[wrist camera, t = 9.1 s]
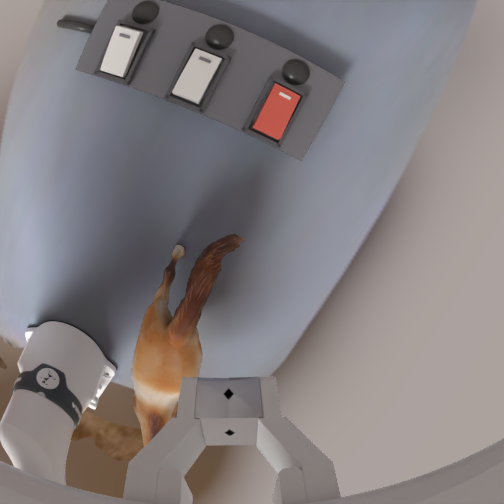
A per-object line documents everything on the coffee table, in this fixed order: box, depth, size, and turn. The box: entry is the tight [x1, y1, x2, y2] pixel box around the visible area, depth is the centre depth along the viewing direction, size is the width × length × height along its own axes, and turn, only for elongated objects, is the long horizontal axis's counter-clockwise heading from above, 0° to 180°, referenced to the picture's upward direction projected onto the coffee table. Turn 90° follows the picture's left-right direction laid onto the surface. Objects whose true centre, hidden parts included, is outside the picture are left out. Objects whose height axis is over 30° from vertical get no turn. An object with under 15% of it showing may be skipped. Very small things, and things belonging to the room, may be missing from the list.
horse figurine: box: [131, 234, 244, 447], centre depth 35 cm, size 31×8×21 cm, turn 158°
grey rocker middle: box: [172, 49, 222, 104], centre depth 26 cm, size 5×3×2 cm, turn 154°
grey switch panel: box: [57, 0, 345, 161], centre depth 27 cm, size 10×34×4 cm, turn 64°
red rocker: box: [252, 83, 300, 140], centre depth 29 cm, size 5×3×2 cm, turn 154°
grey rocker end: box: [100, 26, 143, 77], centre depth 24 cm, size 5×3×2 cm, turn 153°
